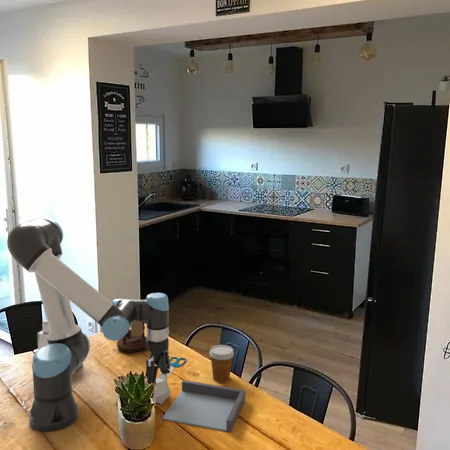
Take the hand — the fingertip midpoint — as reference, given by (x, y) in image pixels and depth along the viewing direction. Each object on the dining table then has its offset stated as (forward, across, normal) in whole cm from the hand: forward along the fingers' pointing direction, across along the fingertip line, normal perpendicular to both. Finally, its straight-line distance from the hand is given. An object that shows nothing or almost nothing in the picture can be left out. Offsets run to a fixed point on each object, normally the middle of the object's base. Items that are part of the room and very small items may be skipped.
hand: (157, 397), depth 163 cm
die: (+1, 0, 0) cm, 1 cm away
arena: (+1, 0, -18) cm, 18 cm away
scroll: (+1, +37, +28) cm, 46 cm away
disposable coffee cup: (+1, +22, -17) cm, 28 cm away
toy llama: (+1, +11, +46) cm, 47 cm away
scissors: (+2, +23, +4) cm, 23 cm away
